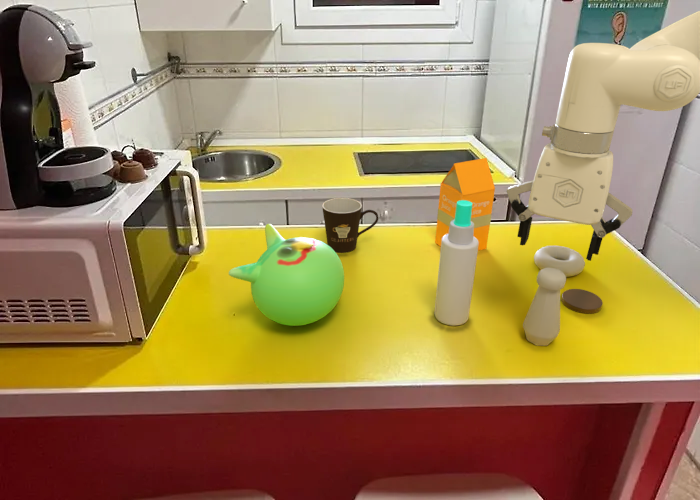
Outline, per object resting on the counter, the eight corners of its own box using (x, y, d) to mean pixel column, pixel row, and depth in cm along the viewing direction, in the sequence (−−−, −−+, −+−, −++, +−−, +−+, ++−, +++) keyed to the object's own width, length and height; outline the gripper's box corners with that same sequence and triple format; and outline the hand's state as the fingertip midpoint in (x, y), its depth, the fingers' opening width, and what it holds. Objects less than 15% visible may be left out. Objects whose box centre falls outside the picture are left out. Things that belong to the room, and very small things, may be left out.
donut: (550, 283, 104) (593, 276, 106) (553, 268, 102) (597, 261, 104) (523, 259, 112) (564, 253, 114) (525, 245, 111) (567, 240, 113)
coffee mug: (316, 250, 115) (315, 209, 110) (332, 235, 122) (331, 195, 117) (365, 260, 111) (366, 218, 107) (378, 244, 118) (380, 203, 114)
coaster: (602, 299, 98) (604, 294, 98) (599, 317, 93) (600, 313, 92) (564, 289, 101) (565, 285, 101) (558, 307, 96) (559, 302, 95)
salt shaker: (546, 326, 90) (560, 261, 84) (563, 347, 85) (580, 279, 79) (514, 330, 90) (527, 264, 83) (530, 351, 85) (544, 282, 78)
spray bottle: (432, 307, 96) (443, 195, 85) (465, 308, 95) (480, 196, 85) (436, 326, 90) (448, 210, 80) (471, 327, 90) (487, 211, 80)
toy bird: (328, 350, 84) (326, 272, 78) (232, 335, 88) (223, 259, 81) (353, 292, 100) (354, 223, 93) (271, 281, 103) (266, 214, 97)
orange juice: (434, 242, 119) (442, 158, 110) (465, 235, 123) (475, 152, 113) (455, 257, 113) (465, 169, 104) (487, 248, 116) (499, 163, 107)
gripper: (511, 136, 72) (493, 246, 80) (650, 156, 65) (615, 274, 73) (523, 125, 78) (505, 228, 86) (651, 142, 71) (618, 252, 79)
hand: (555, 249), depth 80 cm, fingers open, 9 cm apart
